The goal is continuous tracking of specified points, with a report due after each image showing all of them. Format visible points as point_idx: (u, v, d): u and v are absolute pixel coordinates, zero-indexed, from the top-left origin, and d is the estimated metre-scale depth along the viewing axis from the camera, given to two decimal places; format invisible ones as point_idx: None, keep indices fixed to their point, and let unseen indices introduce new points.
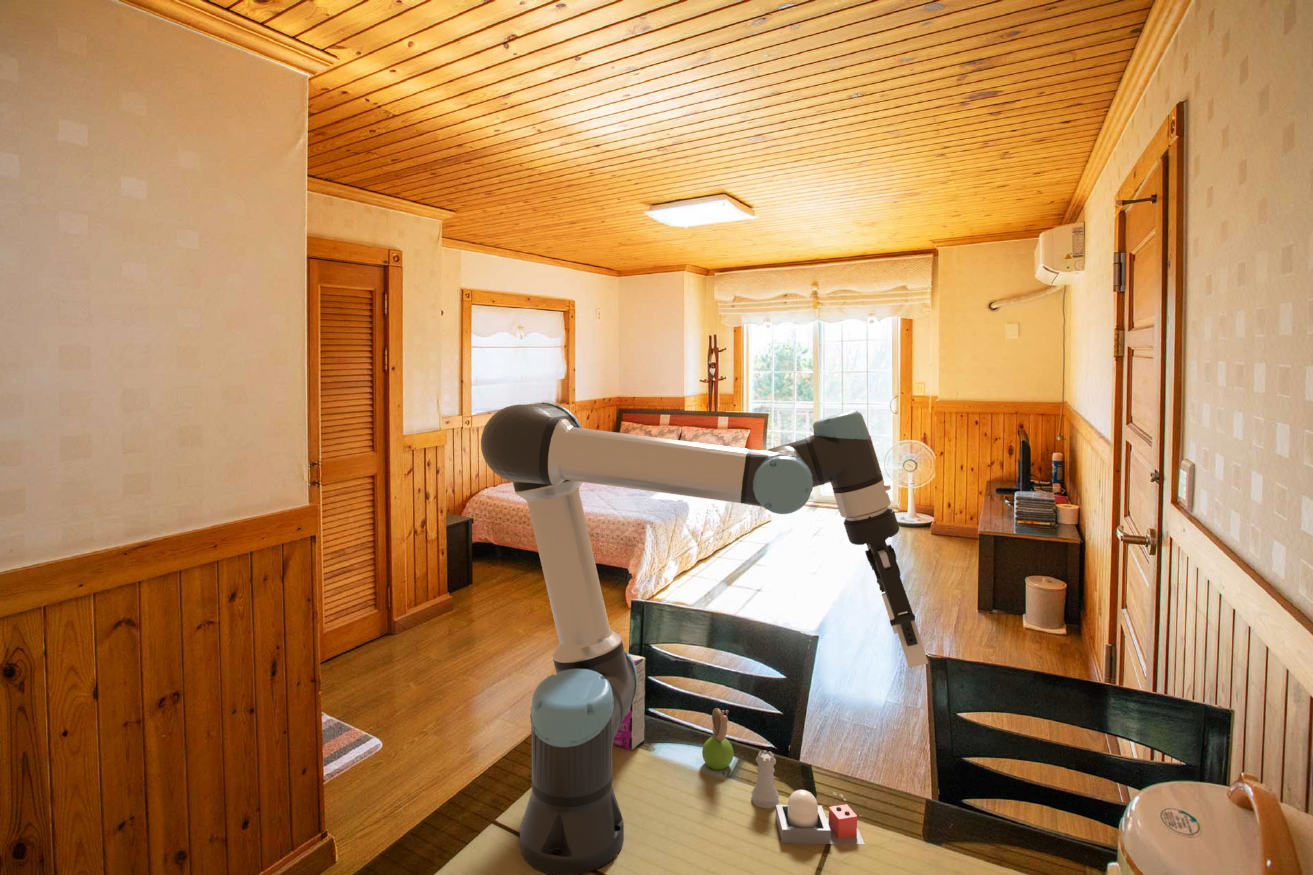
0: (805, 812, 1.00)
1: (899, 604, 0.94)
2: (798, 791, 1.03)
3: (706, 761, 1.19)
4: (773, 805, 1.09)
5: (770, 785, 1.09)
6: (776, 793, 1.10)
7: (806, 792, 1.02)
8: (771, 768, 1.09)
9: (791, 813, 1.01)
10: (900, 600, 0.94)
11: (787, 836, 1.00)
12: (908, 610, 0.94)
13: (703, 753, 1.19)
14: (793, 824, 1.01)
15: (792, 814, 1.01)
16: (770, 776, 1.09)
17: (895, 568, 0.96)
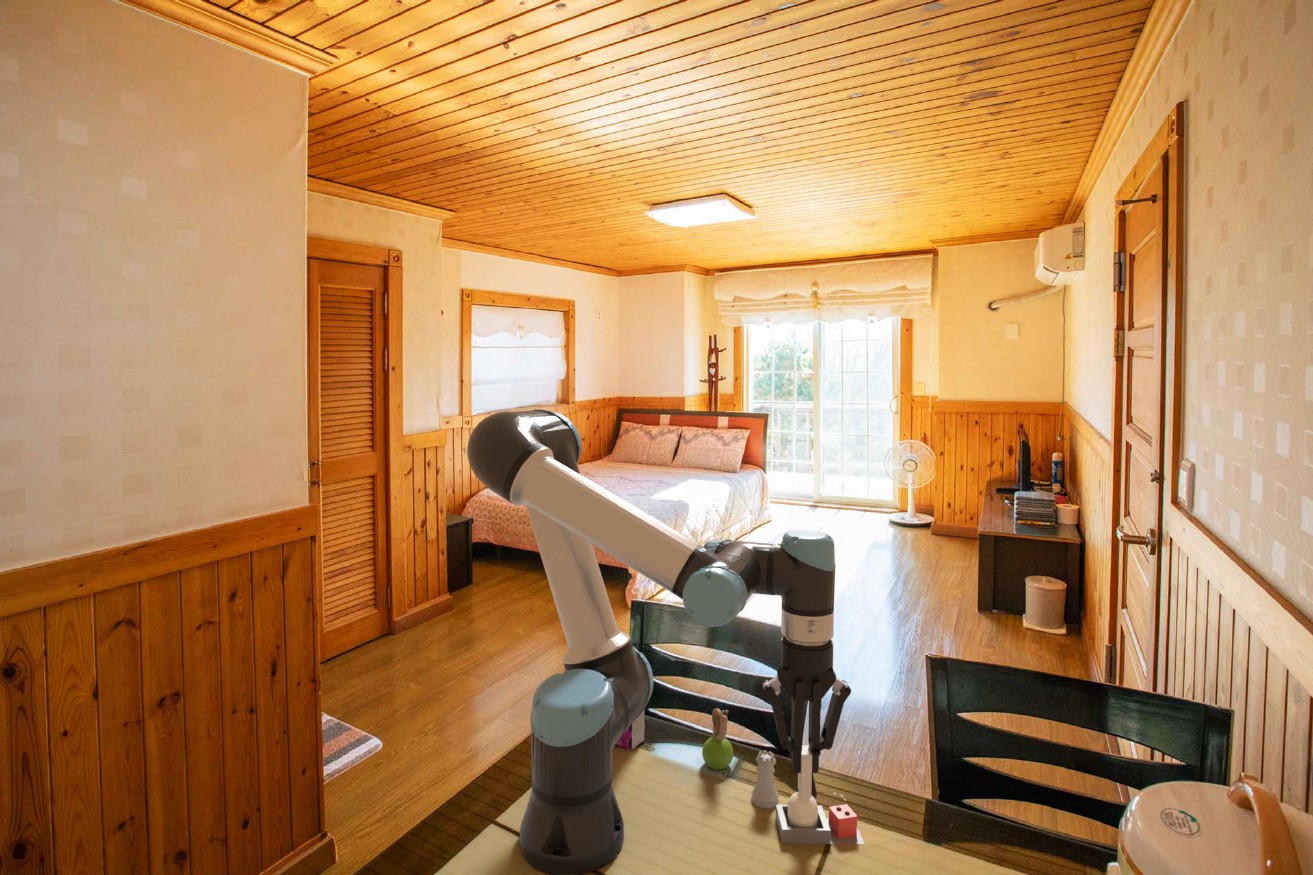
0: (805, 813, 1.00)
1: (777, 730, 1.02)
2: (798, 792, 1.03)
3: (706, 761, 1.19)
4: (773, 805, 1.09)
5: (770, 785, 1.09)
6: (776, 793, 1.10)
7: None
8: (771, 768, 1.09)
9: (791, 814, 1.01)
10: (777, 727, 1.01)
11: (787, 836, 1.00)
12: (780, 739, 1.01)
13: (703, 753, 1.19)
14: (793, 825, 1.01)
15: (792, 815, 1.01)
16: (770, 776, 1.09)
17: (771, 702, 1.00)
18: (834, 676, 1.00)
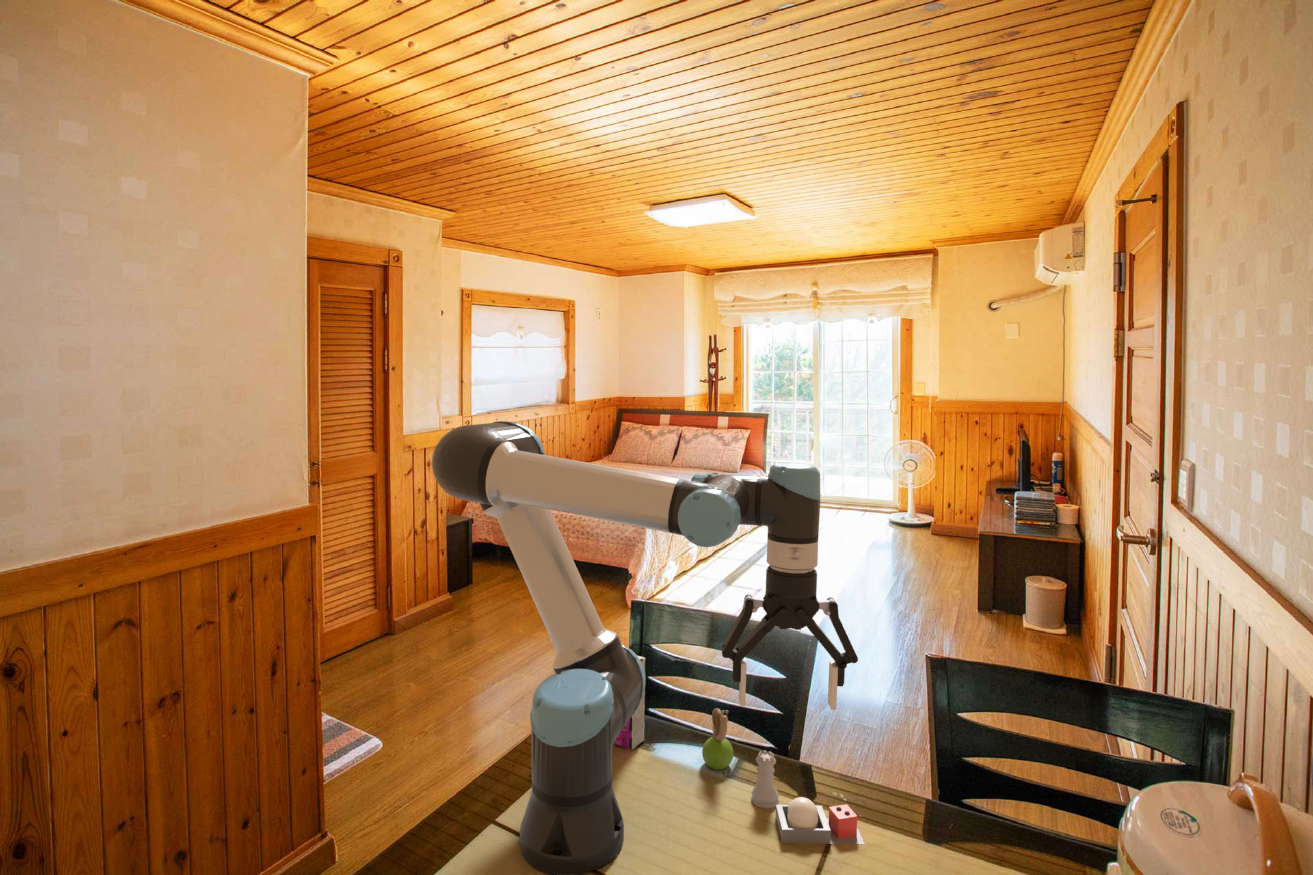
0: (805, 820, 1.00)
1: (727, 638, 1.05)
2: (798, 798, 1.03)
3: (706, 761, 1.19)
4: (773, 805, 1.09)
5: (770, 785, 1.09)
6: (776, 793, 1.10)
7: (806, 799, 1.02)
8: (771, 768, 1.09)
9: (791, 820, 1.02)
10: (729, 636, 1.04)
11: (787, 836, 1.00)
12: (724, 646, 1.04)
13: (703, 753, 1.19)
14: None
15: (792, 821, 1.01)
16: (770, 776, 1.09)
17: (743, 613, 1.03)
18: (815, 602, 1.02)
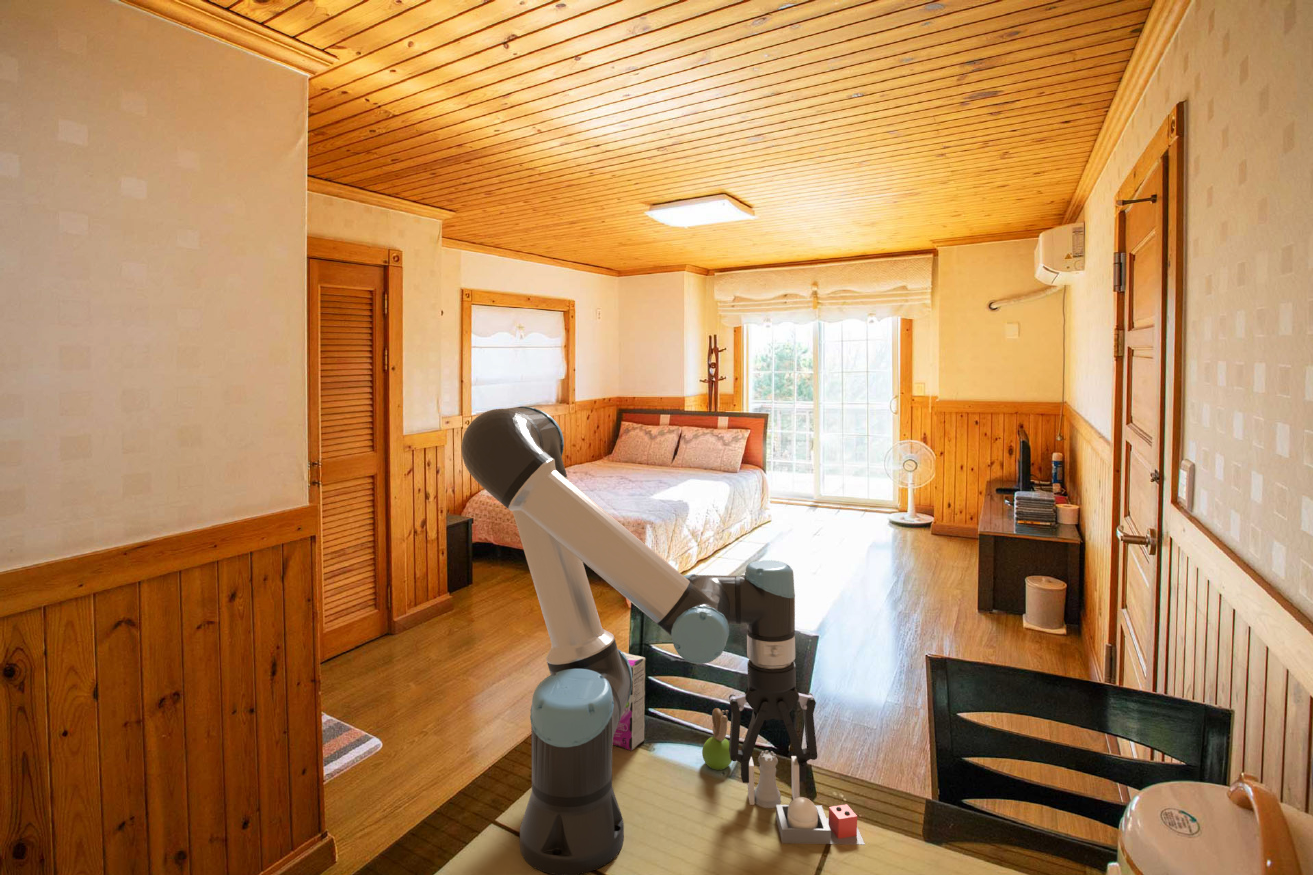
0: (805, 820, 1.00)
1: (730, 742, 1.10)
2: (798, 798, 1.03)
3: (706, 761, 1.19)
4: (775, 805, 1.09)
5: (772, 785, 1.09)
6: (778, 793, 1.09)
7: (806, 799, 1.02)
8: (773, 768, 1.09)
9: (791, 820, 1.02)
10: (730, 739, 1.09)
11: (787, 836, 1.00)
12: (730, 751, 1.09)
13: (703, 753, 1.19)
14: None
15: (792, 821, 1.01)
16: (772, 776, 1.09)
17: (732, 716, 1.08)
18: (796, 694, 1.08)
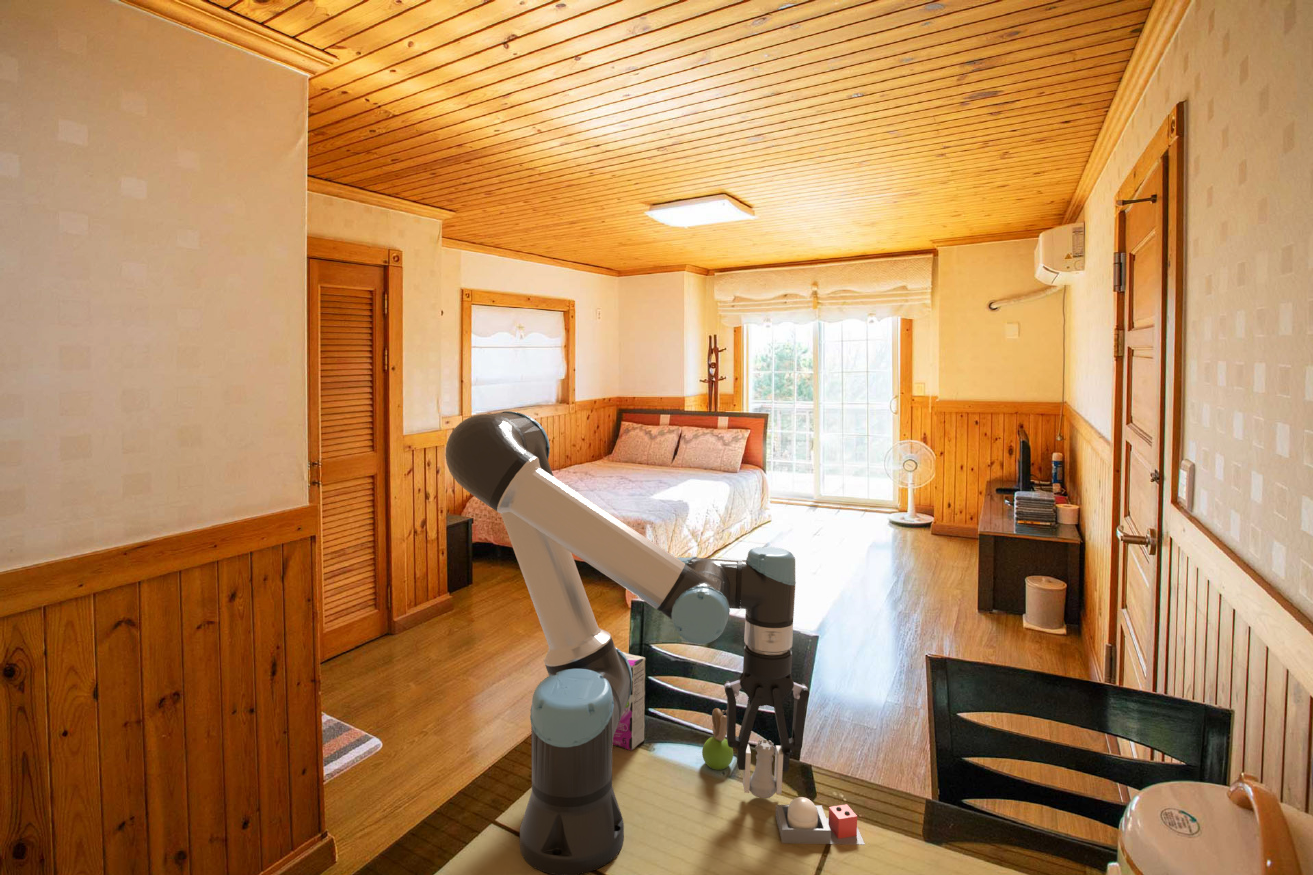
0: (805, 820, 1.00)
1: (727, 728, 1.10)
2: (798, 798, 1.03)
3: (706, 761, 1.19)
4: (770, 794, 1.08)
5: (768, 774, 1.09)
6: (773, 782, 1.09)
7: (806, 799, 1.02)
8: (770, 757, 1.09)
9: (791, 820, 1.02)
10: (727, 726, 1.09)
11: (787, 836, 1.00)
12: (727, 737, 1.09)
13: (703, 753, 1.19)
14: None
15: (792, 821, 1.01)
16: (769, 765, 1.09)
17: (728, 702, 1.08)
18: (791, 682, 1.08)
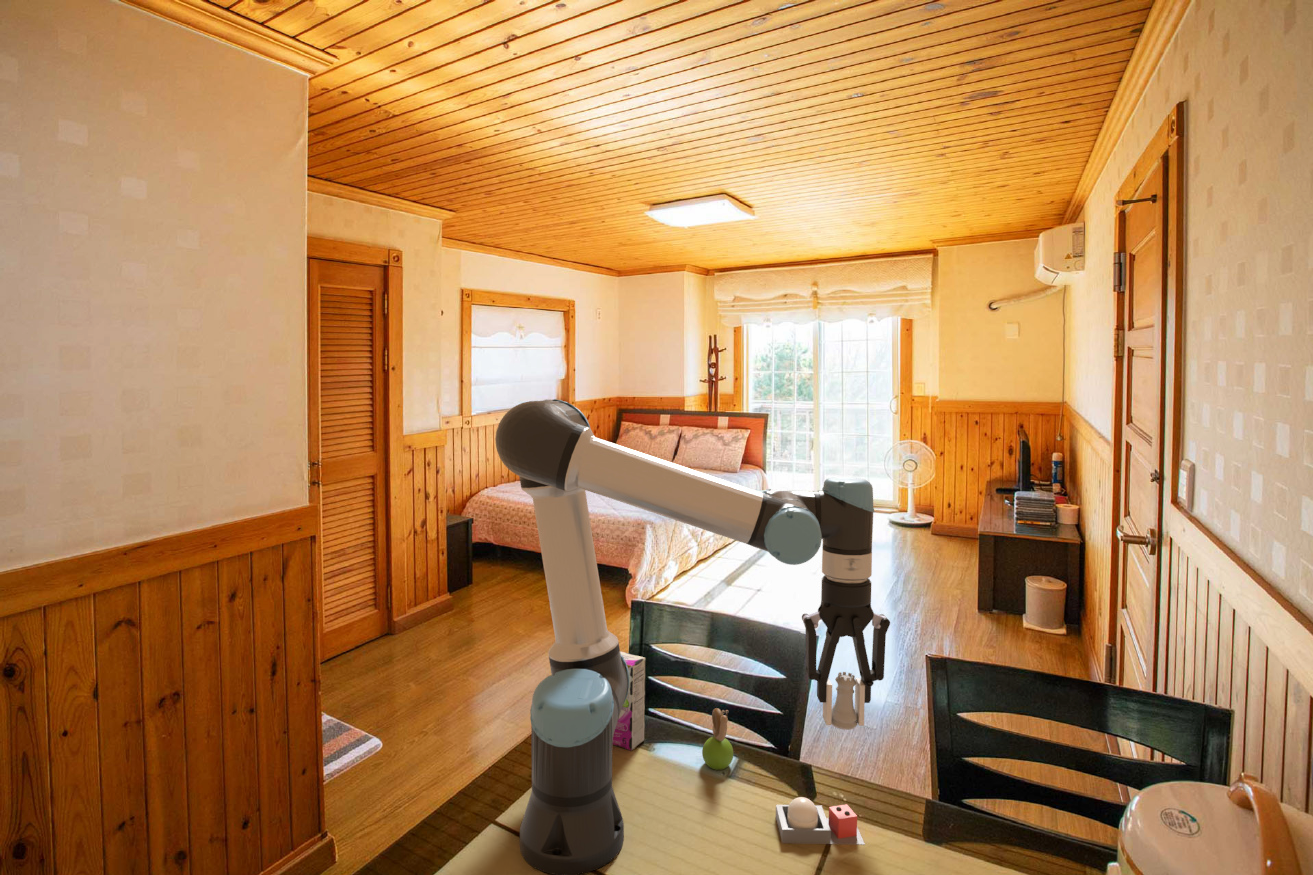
0: (805, 820, 1.00)
1: (806, 661, 1.09)
2: (798, 798, 1.03)
3: (706, 761, 1.19)
4: (852, 725, 1.07)
5: (850, 705, 1.08)
6: (855, 714, 1.08)
7: (806, 799, 1.02)
8: (851, 688, 1.08)
9: (791, 820, 1.02)
10: (807, 659, 1.08)
11: (787, 836, 1.00)
12: (808, 670, 1.08)
13: (703, 753, 1.19)
14: None
15: (792, 821, 1.01)
16: (850, 696, 1.08)
17: (808, 634, 1.07)
18: (871, 612, 1.07)
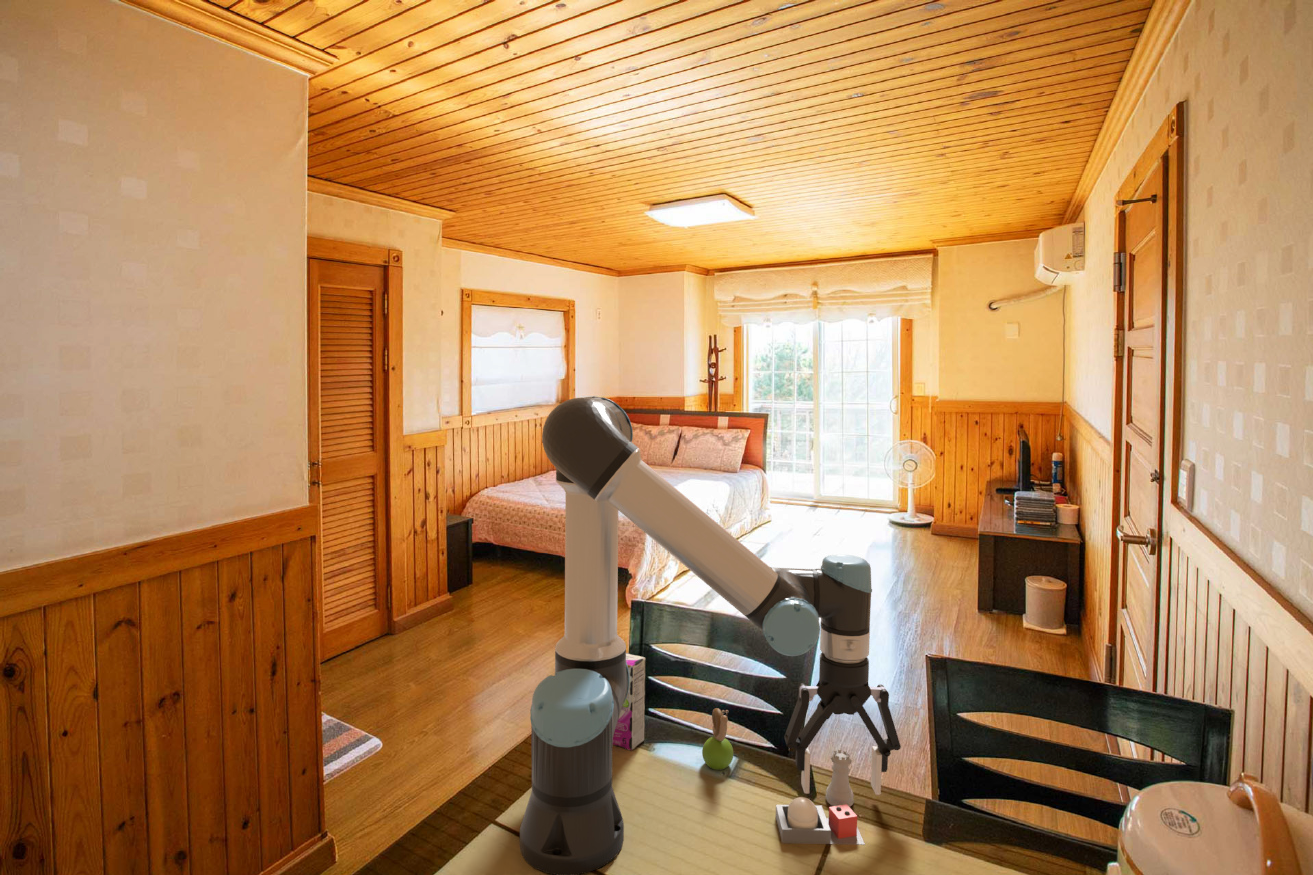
0: (805, 820, 1.00)
1: (789, 729, 1.09)
2: (798, 798, 1.03)
3: (706, 761, 1.19)
4: (849, 804, 1.08)
5: (845, 784, 1.09)
6: (851, 792, 1.09)
7: (806, 799, 1.02)
8: (847, 767, 1.09)
9: (791, 820, 1.02)
10: (790, 727, 1.09)
11: (787, 836, 1.00)
12: (788, 737, 1.09)
13: (703, 753, 1.19)
14: None
15: (792, 821, 1.01)
16: (846, 775, 1.09)
17: (800, 704, 1.08)
18: (867, 688, 1.08)
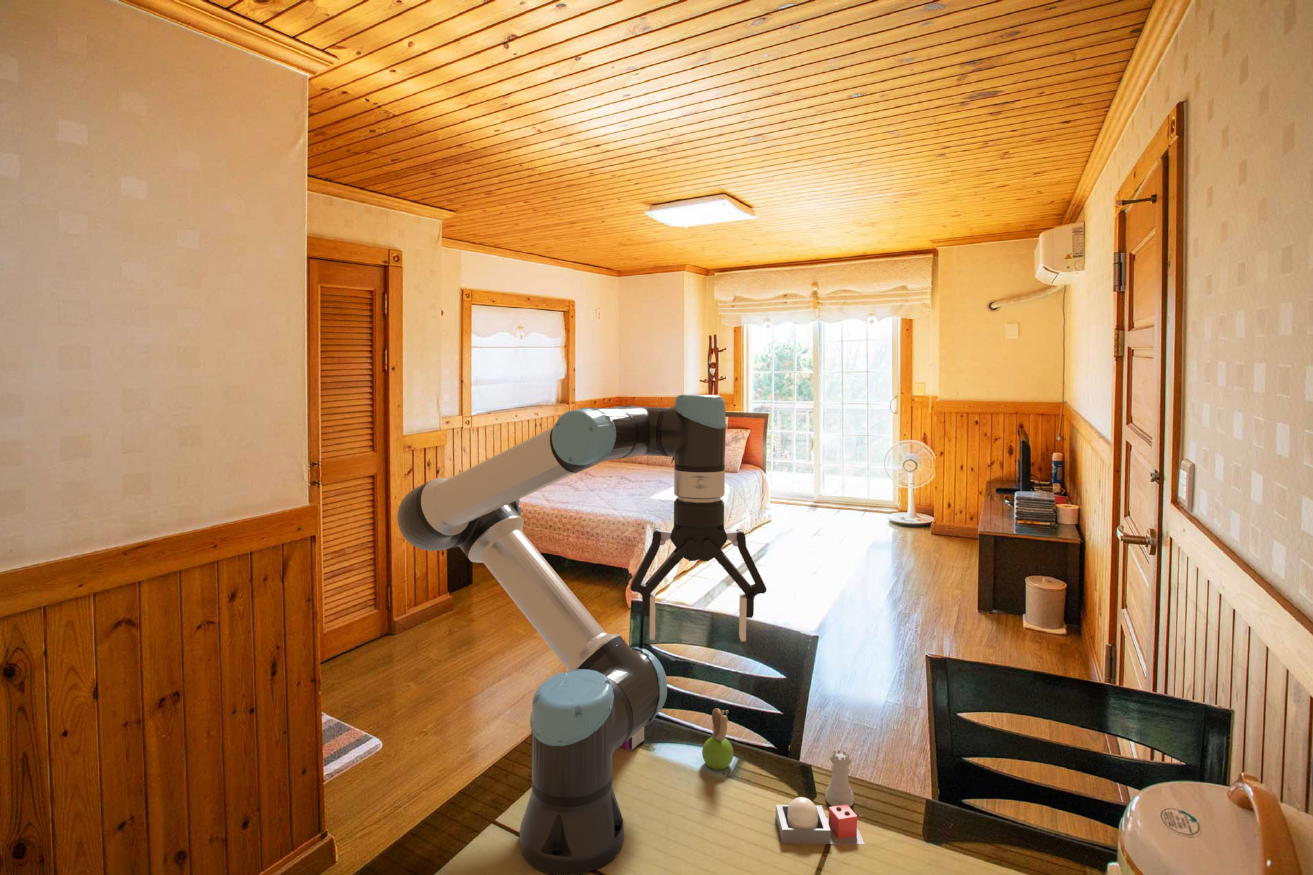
0: (805, 820, 1.00)
1: (636, 572, 1.03)
2: (798, 798, 1.03)
3: (706, 761, 1.19)
4: (849, 804, 1.08)
5: (845, 784, 1.09)
6: (851, 792, 1.09)
7: (806, 799, 1.02)
8: (846, 767, 1.09)
9: (791, 820, 1.02)
10: (638, 570, 1.03)
11: (787, 836, 1.00)
12: (633, 580, 1.03)
13: (703, 753, 1.19)
14: None
15: (792, 821, 1.01)
16: (845, 775, 1.09)
17: (651, 546, 1.02)
18: (722, 532, 1.02)
